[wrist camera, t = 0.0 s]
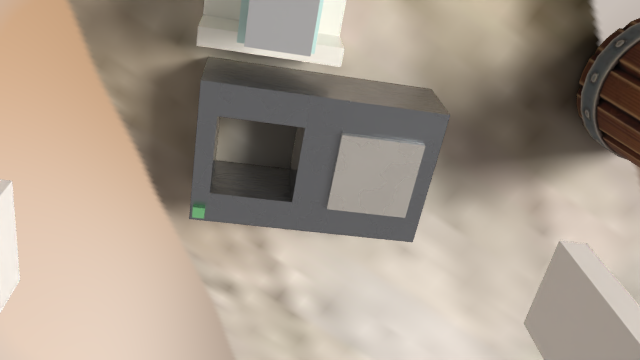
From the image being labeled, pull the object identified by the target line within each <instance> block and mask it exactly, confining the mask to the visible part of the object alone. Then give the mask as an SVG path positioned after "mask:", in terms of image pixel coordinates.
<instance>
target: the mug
mask: <svg viewBox="0 0 640 360" xmlns="http://www.w3.org/2000/svg"><path fill="white" fill-rule="evenodd" d="M579 84H580V85H581V86H580V88H579V90H578V93H577V108H578V113H579V116H580V117H581V118H583V126H584V127H585V128H586V130H587V131H588V132H589V133H590V135H591V136H592V138H593V139H594V140H595V141H597V142H598V143H599V144H601V145H602V146H603V147H605V148H606V149H608V150H609V151H611V152H612V153H614V154H615V155H617V156H618V157H621V158H624V159H627V160H629V161H631V162H632V163H634V164H635V165H637V166H638V167H640V18H639V19H636V20H634V21H631V22H630V23H629V24H628V25H626V26H625V27H624V28H623V29H620V28H619V29H618V30H617V31H615V32H614V33H613V34H612V35H610V36H609V37H608V38H607V39H606V40H605V41H604V42H603V43H602V44H601V45H600V46H599V47H598V48H597V50H596V52H595V54H594V55H593V56H592V57H591V58H590V59H589V61H588V63H587V65H586V66H585V68H584V70H583V73H582V76H581V79H580V81H579Z"/></svg>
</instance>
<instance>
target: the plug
mask: <svg viewBox="0 0 640 360" xmlns="http://www.w3.org/2000/svg"><path fill="white" fill-rule="evenodd" d="M323 1H324V0H241V8H240V18H239V27H238V36H237V43H243V44H244V47H250V48H256V49H263V50H270V51H277V52H283V53H290V54H297V55H303V56H311V54H314V53H315V48H316V42H317V36H318V30H319V24H320V19H321V13H322V7H323Z"/></svg>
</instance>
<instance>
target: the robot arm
mask: <svg viewBox="0 0 640 360" xmlns="http://www.w3.org/2000/svg"><path fill="white" fill-rule="evenodd" d="M19 281H20V275H19V262H18V249H17V237H16V224H15V211H14V199H13V185H12V181H10V180H1V179H0V312H1V311H2V309H3V307H4V305H5V304H6V302H7V301H8V299H9V297H10V296H11V294H12V292H13V291H14V289H15V287H16V286H17V284H18V282H19ZM524 325H525V327H526V328H527V330H528V332H529V334H530V335H531V337H532V339H533V341H534V343H535V344H536V346H537V348H538V350H539V352H540V353H541V355H542V357H543V359H544V360H640V306H639V305H638V303H637V302H636V301H635V300H634V299H633V297H632V296H631V295H630V294H629V293H628V291H627V290H626V289H625V288H624V287H623V286H622V284H621V283H620V282H619V281H618V280H617V278H616V277H615V276H614V275H613V274H612V273H611V271H610V270H609V269H608V268H607V267H606V265H605V264H604V263H603V262H602V261H601V260H600V258H599V257H598V256H597V255H596V254H595V252H594V251H593V250H592V249H591V248H590V246H589V245H588V244H587V243H577V242H568V241H559V243H558V245H557V247H556V250H555V252H554V254H553V257H552V259H551V261H550V264H549V266H548V268H547V271H546V273H545V275H544V277H543V280H542V282H541V284H540V287H539V289H538V291H537V294H536V296H535V298H534V300H533V303H532V305H531V307H530V310H529V312H528V314H527V317H526V319H525V321H524Z"/></svg>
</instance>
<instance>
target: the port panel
mask: <svg viewBox="0 0 640 360" xmlns="http://www.w3.org/2000/svg"><path fill="white" fill-rule="evenodd" d="M220 117H227V118H234V119H242V120H250V121H257V122H265V123H272V124H280V125H288V126H295V127H297V129H296V135H295V141H294V147H293V153H292V159H291V165H290V169H284V168H276V167H267V166H259V165H251V164H242V163H234V162H226V161H217V160H216V152H217V142H218V132H219V122H220ZM449 118H450V114H449V113H448V111H447V110H446V109H445V107H444V106H443V104H442V103H441V102H440V100H439V99H438V98H437V96H436V95H435V94H434V92H433V91H432V89H426V88H419V87H412V86H405V85H398V84H392V83H385V82H378V81H371V80H364V79H357V78H350V77H344V76H337V75H330V74H323V73H316V72H309V71H302V70H296V69H289V68H282V67H275V66H268V65H261V64H254V63H248V62H241V61H234V60H227V59H220V58H213V57H208V59H207V62H206V65H205V69H204V72H203V75H202V78H201V83H200V95H199V107H198V119H197V132H196V144H195V156H194V168H193V180H192V192H191V204H190V216H189V219H195V220H204V221H214V222H224V223H233V224H243V225H252V226H262V227H271V228H281V229H291V230H300V231H310V232H319V233H329V234H338V235H348V236H358V237H367V238H377V239H386V240H396V241H405V242H413V239H414V236H415V233H416V229H417V226H418V222H419V219H420V216H421V212H422V209H423V206H424V202H425V199H426V195H427V192H428V189H429V185H430V182H431V179H432V175H433V172H434V168H435V165H436V162H437V158H438V155H439V151H440V148H441V145H442V141H443V138H444V135H445V131H446V128H447V124H448V121H449Z"/></svg>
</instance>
